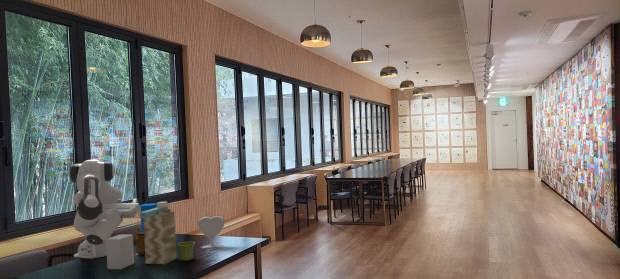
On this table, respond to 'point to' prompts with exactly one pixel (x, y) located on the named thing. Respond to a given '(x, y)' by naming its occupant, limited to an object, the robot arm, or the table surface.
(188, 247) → the plant pot
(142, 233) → the condiment
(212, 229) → the heart sculpture
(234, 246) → the table surface
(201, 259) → the table surface
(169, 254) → the zigzag patterned block
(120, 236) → the white rectangular block
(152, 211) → the teal green bar
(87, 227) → the robot arm
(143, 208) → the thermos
